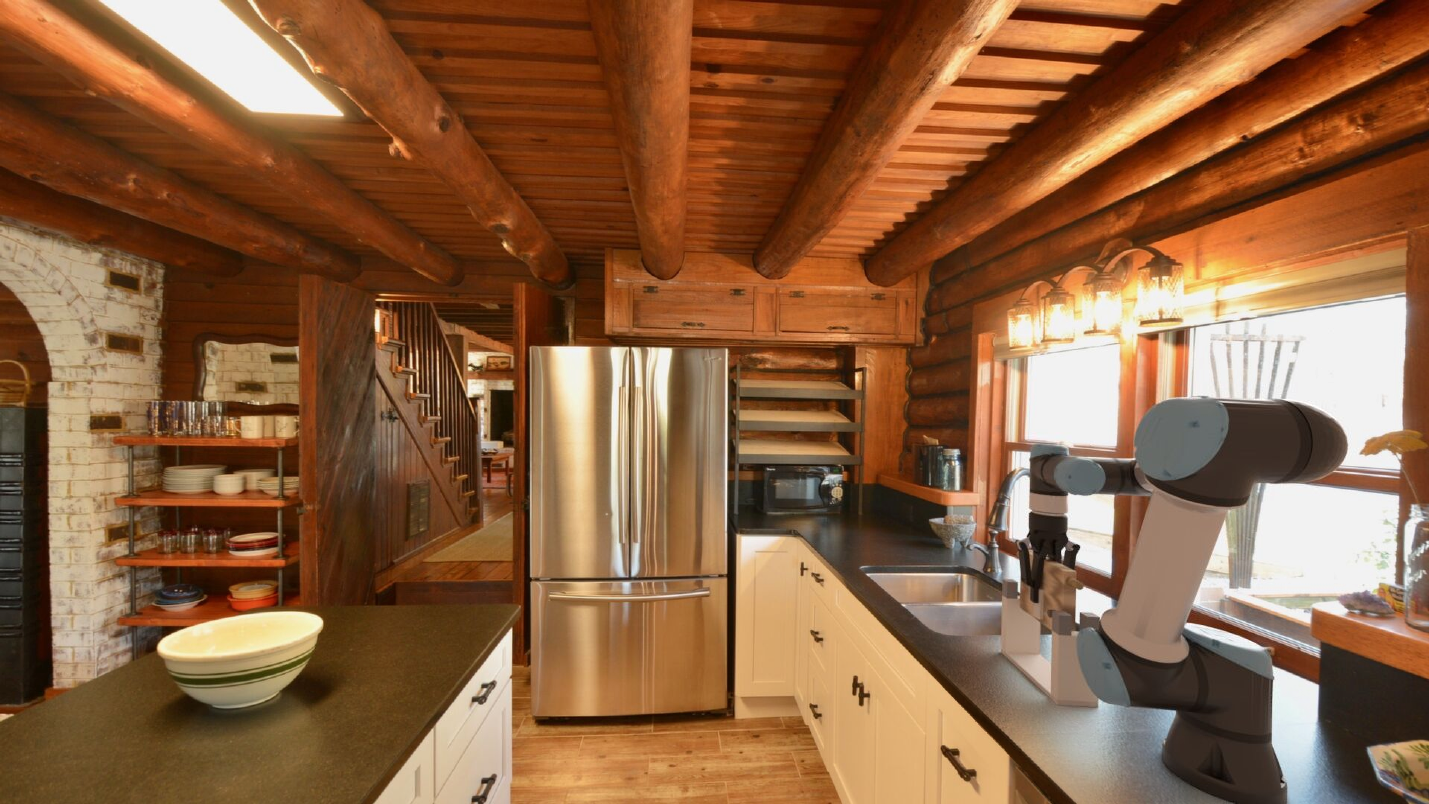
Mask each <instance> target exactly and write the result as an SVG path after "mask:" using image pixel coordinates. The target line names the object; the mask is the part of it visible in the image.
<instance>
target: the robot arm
mask: <svg viewBox="0 0 1429 804" xmlns="http://www.w3.org/2000/svg"><path fill="white" fill-rule="evenodd" d="M1133 439H1134V440H1133V446H1134V448H1136V449H1135V451H1134V453H1133V454H1134V457H1133V458H1121V457H1120V458H1115V457H1095V456H1094V457H1093V456H1092V457H1091V456H1071V455H1070V449H1069V447H1068V446H1067V445H1065V444H1057V443H1033V444H1032V445H1031V447H1030V454H1029V458H1028V461H1029V491H1028V492H1029V494H1028V495H1029V496H1028V497H1029V498H1028V499H1029V501H1028V509H1029V510H1031V511H1029V512H1028V533H1027V534H1026V538H1022V539H1020V540H1019V539H1015V543H1014V544H1015V546H1016V548H1017V551H1019V557H1018V558H1019V571H1020V576H1021V581H1022V582H1023V583H1024V584H1026V585H1028V586H1030V600H1031V601H1032V602H1033V603H1034V609H1033V615H1034V616H1035V617H1037V618H1038V619H1040V620H1043V604H1044V590H1042V589H1041V588H1040V586H1041V580H1042V573H1043V567H1044V560H1045V559H1046V557H1047V556H1048V558H1050V559H1051V560H1054V561H1056V562H1058V563H1060V564H1062V565H1064V566H1066V567H1068V568H1070V569H1072V570H1074V571H1075V568H1076V561H1077V555H1078V553H1079V551H1080V549H1081V545H1080V544H1078V543H1075V542H1073V541H1071V540H1070V539H1069V536H1068V534H1067V532H1068V523H1069V522H1068V519H1069V517H1068V516H1067V515H1066V514H1068V513H1069V494H1070V495H1074V496H1081V497H1082V496H1083V497H1088V496H1093V495H1105V496H1106V495H1110V496H1111V495H1112V496H1113V495H1114V496H1116V495H1119V496H1131V497H1132V496H1135V497H1147V498H1150V499H1149V502H1148V505H1147V508H1146V511H1145V514H1144V518H1143V521H1142V524H1141V528H1140V530H1139V534H1138V537H1137V541H1136V544H1135V546H1134V549H1133V552H1132V556H1131V558H1130V559H1131V560H1130V562H1129V565H1128V569H1127V571H1126V572H1127V573H1126V575H1125V579H1124V581H1123V585H1122V588H1121V591H1120V594H1119V596H1118V597H1119V598H1118V601H1117V604H1116V607H1111V608H1109V609H1107V610H1105V611H1103V613H1102V614H1101V617H1100V623H1099V626H1098V628H1096V629H1094V628H1091V627H1088V628H1085V629H1081V630H1080V631H1079V630H1078V632H1079V633H1078V635H1077V642H1076V647H1077V655H1078V660H1079V664H1080V668H1081V671H1082V673H1083V676H1084V678H1085V680H1086V682H1087V684H1088V686H1089V688H1090V689H1091V691H1092V692H1093V693H1094V694H1095V696H1096V697H1097V698H1098V700H1100V701H1102V703H1106V704H1108V705H1114V706H1121V707H1124V708H1137V709H1138V708H1140V709H1149V710H1150V709H1151V710H1162V711H1163V710H1164V711H1175V716H1174V718H1173V720H1172V721H1171V722H1172V723H1171V725H1170V727H1169V730H1168V733H1167V735H1166V736H1165V738H1164V739H1163V740H1162V744H1161V758H1162V759H1161V760H1162V761H1163V763H1164V764H1165V766H1166V767H1167V768H1168V769H1169V770H1170V771H1171V772H1173V773H1174V774H1175V775H1176V776H1177V777H1178V778H1180V779H1182V780H1183V781H1185V782H1186V783H1188V784H1190V785H1191V786H1193V787H1195V788H1198V789H1200V790H1201V791H1204V792H1205V793H1207V794H1210V795H1212V796H1215V797H1217V798H1219V799H1222V800H1226V801H1230V802H1232V803H1236V804H1287V802H1288V782H1287V780H1286V777H1285V776H1284V774H1283V770H1282V768H1281V764H1280V762H1279V759H1278V757H1277V754H1276V750H1275V748H1274V746H1273V695H1274V694H1273V691H1274V681H1275V676H1274V669H1273V659H1272V656H1271V655H1270V653H1269V651H1267V649H1265V648H1264V647H1263V646H1262V645H1260V644H1258V643H1256V642H1254V641H1252V640H1249V639H1247V638H1246V637H1243V636H1240V635H1237V634H1234V633H1232V632H1231V633H1230V632H1228V631H1225V630H1222V629H1219V628H1214V627H1213V626H1212V627H1211V626H1207V625H1202V624H1197V623H1191V622H1187V621H1188V619H1189V616H1190V613H1191V611H1192V608H1193V605H1194V602H1195V600H1196V597H1197V594H1198V592H1199V589H1200V587H1201V584H1202V581H1203V578H1204V576H1205V573H1206V570H1207V568H1208V565H1209V562H1210V561H1211V557H1212V555H1213V552H1214V550H1215V549H1214V548H1215V546H1216V543H1217V541H1218V538H1219V536H1220V533H1221V531H1222V528H1223V525H1224V522H1225V521H1226V517H1227V515H1228V512H1229V511H1231V510H1235V509H1239V508H1242V507H1244V506H1247V504H1248V502H1249V499H1250V496H1251V494H1252V492H1253V490H1254V487H1255V485H1256V484H1270V485H1279V484H1280V485H1281V484H1283V485H1284V484H1285V485H1286V484H1303V483H1311V482H1313V481H1316V480H1317V481H1318V480H1321V479H1324V478H1325V477H1327V476H1329V475H1331V474H1333V473H1334V472H1335V471H1336V470H1337V469H1338V468H1340V467H1341V465H1342V464H1343V462H1344V461H1345V459H1346V456H1347V454H1348V449H1349V442H1348V436H1347V434H1346V432H1345V430H1344V427H1342V424H1340V422H1339V420H1338V419H1336V418H1335V417H1334V416H1333V415H1331V414H1330V413H1329V412H1327V411H1326V410H1324V409H1322V408H1320V407H1318V406H1316V405H1314V404H1310V403H1308V402H1304V401H1300V400H1295V399H1287V398H1250V397H1249V398H1248V397H1247V398H1246V397H1244V398H1243V397H1213V396H1212V397H1210V396H1209V395H1195V396H1192V395H1191V396H1190V397H1189V396H1186V397H1183V396H1181V397H1171V398H1166V399H1164V400H1162V401H1160V402H1158V403H1156V404H1154V405H1153V406H1151V407H1150V408H1149V409H1148V410H1147V412H1146V413H1144V415H1143V416H1142V418H1141V419H1140V421H1139V423H1138V425H1137V427H1136V430H1135V433H1134V438H1133ZM1030 546H1031V548H1033V549H1032V550H1033V562H1032V569H1031V565H1030V555H1029V550H1030ZM1064 548H1065V550H1064V553H1063V554H1064V555H1062V550H1063V549H1064ZM1062 559H1063V563H1062Z"/></svg>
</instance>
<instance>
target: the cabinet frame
mask: <svg viewBox="0 0 1429 804" xmlns="http://www.w3.org/2000/svg"><path fill="white" fill-rule="evenodd" d="M1001 584H1002V587H1001V592H1002V593H1001V595H1002V596H1001V631H1000V633H1001V634H1000V635H1001V637H1000V640H1001V641H1000V653H1001V654H1002V655H1003V656H1004V657H1005V658H1006V659H1007V660H1009V661H1010V662H1011V663H1012V664H1013V665H1014V666H1015V667H1016V668H1017V669H1018V670H1019V671H1021V672H1022V673H1023V674H1024V676H1026V677H1027V678H1028V679H1029V680H1030V681H1031V682H1032V683H1033V684H1035V686H1036V687H1038V688H1039V689H1040V690H1041V691H1042V692H1043V693H1044V694H1045V696H1047V697H1048V698H1049V699H1050V700H1052V701H1053V703H1054V704H1056V706H1069V707H1070V706H1071V707H1087V708H1088V707H1089V708H1099V698H1097V697H1096V696H1095V694H1094V693H1093V692H1092V691H1091V689H1090V688H1089V686H1088V684H1087V682H1086V680H1085V678H1084V676H1083V673H1082V671H1081V668H1080V664H1079V660H1078V655H1077V647H1076V642H1077V635H1078V633H1079V631H1080V630H1081V629H1085V628H1088V627H1091V628H1094V629H1096V628H1098V626H1099V623H1100V619H1101V617H1100V616H1099V615H1097V614H1096V613H1094V612H1087V611H1086V612H1083V611H1079V628H1078V631H1076V630H1075V631H1072V616H1071V615H1070V614H1068V613H1067V612H1065V611H1052V630H1051V649H1050V653H1051V657H1050V661H1049V660H1047V659H1046V658H1045V657H1044V656H1042V655H1041V624H1042V623H1040V622H1039V621H1038V620H1036V619H1035V618H1033V617H1032V616H1031V615H1029V614H1028V613H1027V612H1025V611H1024V610H1022V609H1021V608H1020V595H1019V593H1018V592H1019V582H1018V581H1016V580H1015V579H1013V578H1002V583H1001Z"/></svg>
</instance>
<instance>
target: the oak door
mask: <svg viewBox="0 0 1429 804" xmlns="http://www.w3.org/2000/svg"><path fill="white" fill-rule="evenodd" d="M1028 550H1029V555H1030V565H1031V569H1032V562H1033V549H1028ZM1015 554H1016V557H1017V558H1019V550H1017V552H1016V553H1015ZM1019 583H1020V584H1019V585H1020V586H1019V587H1020V588H1019V596H1020V608H1021V609H1022V610H1024V611H1025V612H1027V613H1028V614H1029V615H1031V616H1032V617H1033V618H1035V619H1036V620H1038V621H1039V622H1040V623H1041V624H1042V625H1044V626H1045V627H1046V628H1047V629H1048V630H1050V631H1052V611H1065V612H1067V613H1068V614H1070V615H1071V616H1072V631H1076V617H1077V615H1076V614H1077V613H1076V611H1077V610H1076V609H1077V600H1076V599H1077V590H1079V591H1082V590H1083V589H1084V587H1085V586H1084V584H1083V582H1082V581H1079V580H1077V571H1076V570H1075V569H1074V570H1072V569H1070V568H1068V567H1066V566H1064V565H1063V563H1061V564H1060V563H1058V562H1056V561H1054V560H1051V559H1050V558H1049V556H1048V557H1047V556H1046V559H1045V560H1044V567H1043V573H1042V580H1041V586H1040V588H1041V589H1042V590H1044V604H1043V620H1040V619H1038V618H1037V617H1035V616H1034V615H1033V609H1034V603H1033V602H1032V601H1031V600H1030V586H1028V585H1026V584H1024V583H1023V582H1022V581H1021V575H1020V581H1019Z"/></svg>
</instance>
